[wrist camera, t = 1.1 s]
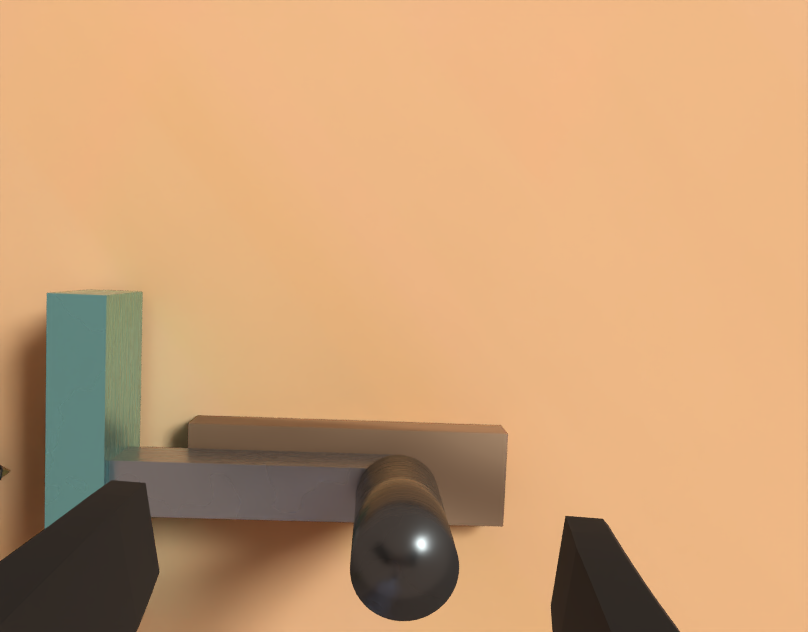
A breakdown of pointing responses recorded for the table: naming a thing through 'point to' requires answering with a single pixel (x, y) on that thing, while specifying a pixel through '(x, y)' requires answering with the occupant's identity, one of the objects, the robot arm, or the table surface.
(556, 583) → the robot arm
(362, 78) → the table surface
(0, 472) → the grey rock
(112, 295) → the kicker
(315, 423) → the rail
